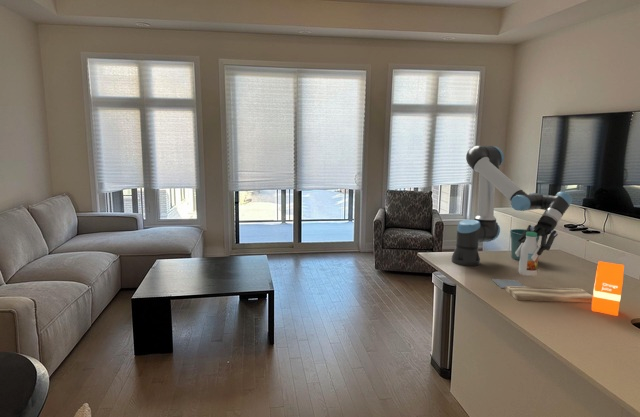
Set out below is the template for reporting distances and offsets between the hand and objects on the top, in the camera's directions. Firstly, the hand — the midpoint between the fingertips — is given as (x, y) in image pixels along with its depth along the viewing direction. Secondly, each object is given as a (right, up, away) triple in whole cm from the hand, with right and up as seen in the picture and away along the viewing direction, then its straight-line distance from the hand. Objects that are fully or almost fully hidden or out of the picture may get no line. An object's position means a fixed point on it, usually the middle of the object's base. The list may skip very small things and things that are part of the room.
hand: (524, 257), depth 194 cm
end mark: (-5, -14, +6) cm, 16 cm away
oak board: (+7, -16, -8) cm, 20 cm away
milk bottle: (+3, -8, +3) cm, 9 cm away
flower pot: (+24, -7, +53) cm, 58 cm away
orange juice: (+22, -19, -22) cm, 37 cm away
